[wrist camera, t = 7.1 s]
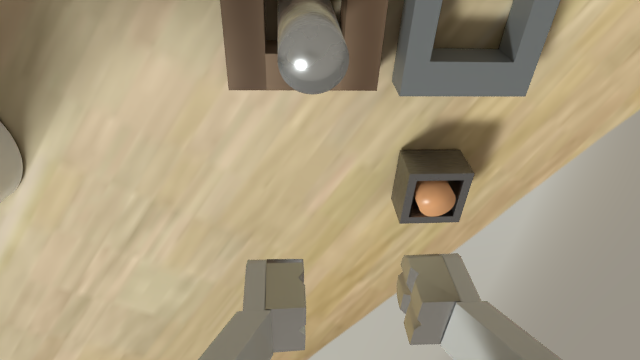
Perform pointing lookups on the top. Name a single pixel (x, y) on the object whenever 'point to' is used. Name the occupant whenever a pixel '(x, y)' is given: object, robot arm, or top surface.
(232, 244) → the top surface
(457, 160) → the dark grey open box
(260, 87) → the socket block
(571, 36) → the top surface
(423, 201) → the brown egg
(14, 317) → the top surface
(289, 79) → the grey metal cylinder
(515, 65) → the block
